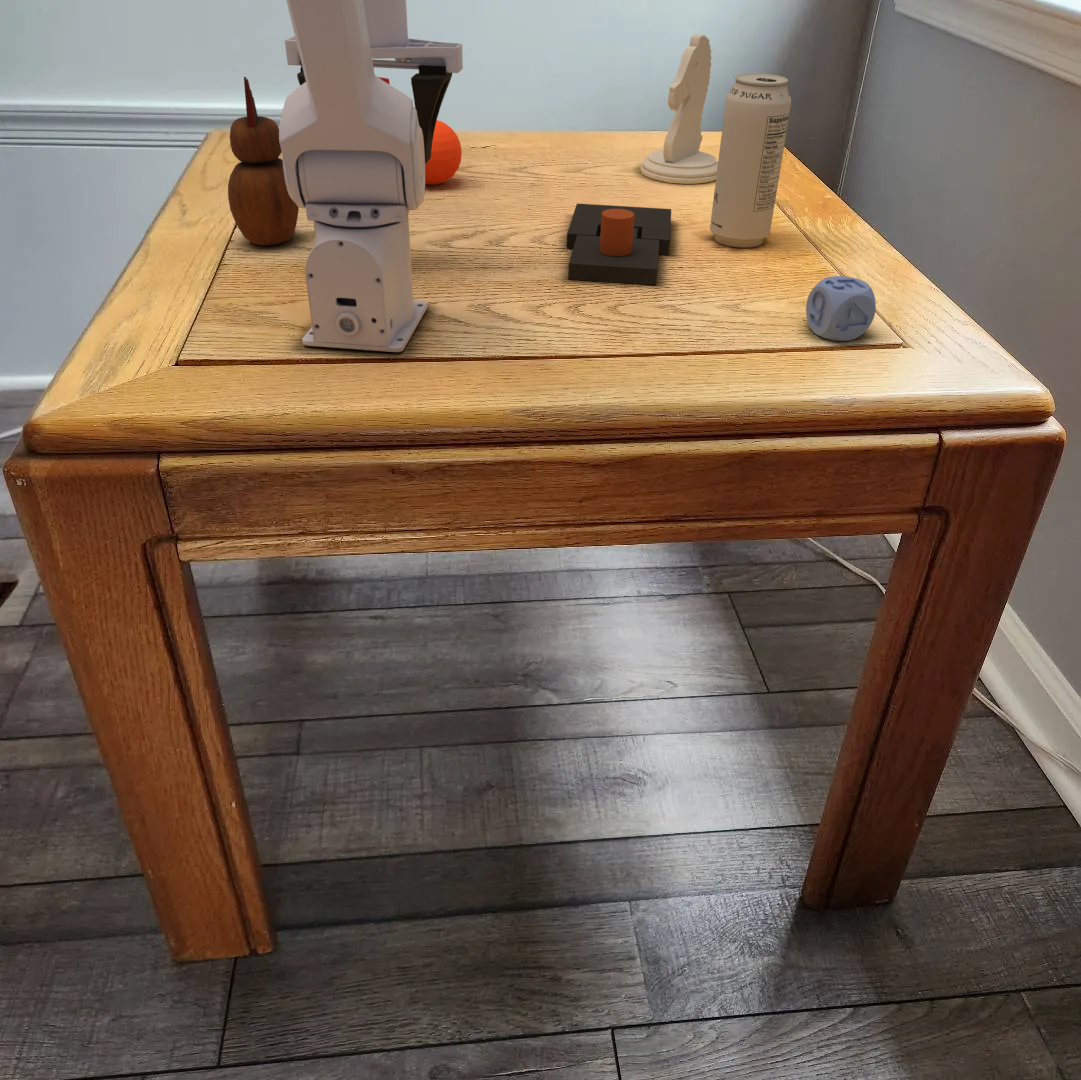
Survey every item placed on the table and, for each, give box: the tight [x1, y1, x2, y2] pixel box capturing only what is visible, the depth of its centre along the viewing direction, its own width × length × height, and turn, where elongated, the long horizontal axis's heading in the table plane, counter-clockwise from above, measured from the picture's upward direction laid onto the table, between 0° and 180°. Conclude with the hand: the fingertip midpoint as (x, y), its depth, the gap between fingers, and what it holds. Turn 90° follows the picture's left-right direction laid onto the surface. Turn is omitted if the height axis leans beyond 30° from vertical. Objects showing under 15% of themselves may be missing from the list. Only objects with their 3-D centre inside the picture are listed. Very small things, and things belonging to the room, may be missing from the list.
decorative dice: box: [805, 275, 877, 342], centre depth 77 cm, size 4×4×4 cm
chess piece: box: [640, 33, 718, 185], centre depth 112 cm, size 10×10×15 cm
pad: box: [567, 209, 660, 286], centre depth 90 cm, size 11×8×5 cm
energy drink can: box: [709, 73, 792, 249], centre depth 93 cm, size 6×6×15 cm
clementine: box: [425, 119, 463, 186], centre depth 108 cm, size 8×7×7 cm
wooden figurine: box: [227, 76, 300, 247], centre depth 89 cm, size 7×6×15 cm
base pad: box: [566, 202, 672, 256], centre depth 97 cm, size 10×10×2 cm
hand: (381, 158), depth 84 cm, fingers open, 7 cm apart
